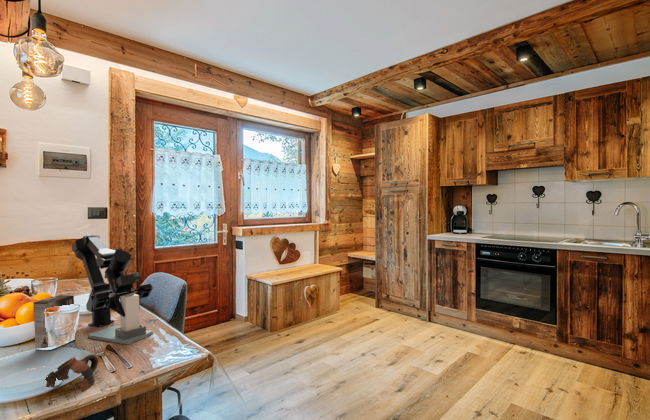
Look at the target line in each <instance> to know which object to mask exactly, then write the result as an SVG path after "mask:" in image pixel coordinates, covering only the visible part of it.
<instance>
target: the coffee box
mask: <svg viewBox="0 0 650 420" xmlns="http://www.w3.org/2000/svg"><path fill="white" fill-rule="evenodd" d="M74 298H75V297H74V295H73V294H72V295H67V294H65V295H63V294H62V295H61V294H60V295H56V296H55V295H54V296H52V297H47V298H44V299H40V300H37V301H34V302H32V304H33V318H34V319H33V320H34V324H33V325H34V335H35V336H34V338H35V339H34V340H35V344H34V345H35V349H36V348H46V347H48V337H47V332H46V328H45V314H44V310H45V309H47V308H50V307H54V306H62V305H70V304H74V305H75V299H74ZM76 334H77V333H75V341H76V340H77V338H76Z"/></svg>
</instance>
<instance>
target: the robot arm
mask: <svg viewBox="0 0 650 420" xmlns="http://www.w3.org/2000/svg"><path fill="white" fill-rule="evenodd" d="M100 238H101V237H100V236H99V234H98V235H97V234H88V235H87V234H86V235H84V236H82V238H79V239H76V240H75V241H73V243H72V244H71V252H73V254H74V255H75V257H76V258H77V259H79V260H81V262H82V264H83V267H84V271H85V273H86V276H87V278H88V282H89V284H90V288H91V291H90V293H89V296H88V299H87V302H86V305H85V307H86V311H88V312H91V323H88V324H87V325H88V326H91V327H97V328H100V327H103V326H105V325H106V326H107V325H109V324H112V323H114V322H115V320H113V319H112V318H111V317H112V316H111V314H112V312H111V310H112V311H113V312H116V313H117V314H118V315H119V316H120V315H121V316H123V317H125V312H124V310H123V307H122V305H121V303H120V296H124V295H126V294H130V293H134V294H137V295H139V310H140V311H141V307H140V306H141V299H144V298H148V297H149V296H150V294H151V293H152V291H153V288H154V287H153V285H152V284H151V283H150V282H149V283H142V284H139V285H138V288H136V289H134V284H136V283H137V282H139V281H140V280H141V274H140V273H139V271H133V272H131V274H130V273H129V274H126V273H125V272H124V271H126V270H127V269H128V266H129V263H130V261H131V259H132V254H131V253H129V252H128V251H126V250H123V248H116V249H111V248H109V247H108V246H107V245H106V244H105V243H104V242H103V240H101V239H100ZM101 269H102V270H103V269H105V270H104V276H103V274H102V271H101ZM105 279H107V283H106V282H105ZM121 316H120V317H121Z"/></svg>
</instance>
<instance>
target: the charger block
mask: <svg viewBox="0 0 650 420" xmlns="http://www.w3.org/2000/svg"><path fill="white" fill-rule="evenodd" d="M119 300H120V303H121V305H122V307H123V310H124V312H125V317H123V316H121V315H120V314H119V316H120V326H121V330H122V331H124V332H127V331H130V330H134V329H137V328H140V324H141V319H140V318H141V316H140V313H141V309H140V310H139V295H137V294H134V293H130V294H126V295H124V296H120V299H119Z"/></svg>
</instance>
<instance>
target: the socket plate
mask: <svg viewBox="0 0 650 420" xmlns="http://www.w3.org/2000/svg"><path fill="white" fill-rule="evenodd" d="M153 334H154V331H153V330H147V327H146V325H143V324H141V323H140V328H137V329H134V330H130V331H127V332H124V331H122V330H121V325H112V326H109V327H107V328H103V329H101V330H99V331H95V332H93V333H90V334H88V335H87V338H88V339H91V340H92V339H93V340H100V341H105V342H110V343H117V344H122V345H130V344H133V343H135V342H138V341H139V340H142V339H144V338H146V337H150V336H152V335H153Z"/></svg>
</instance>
